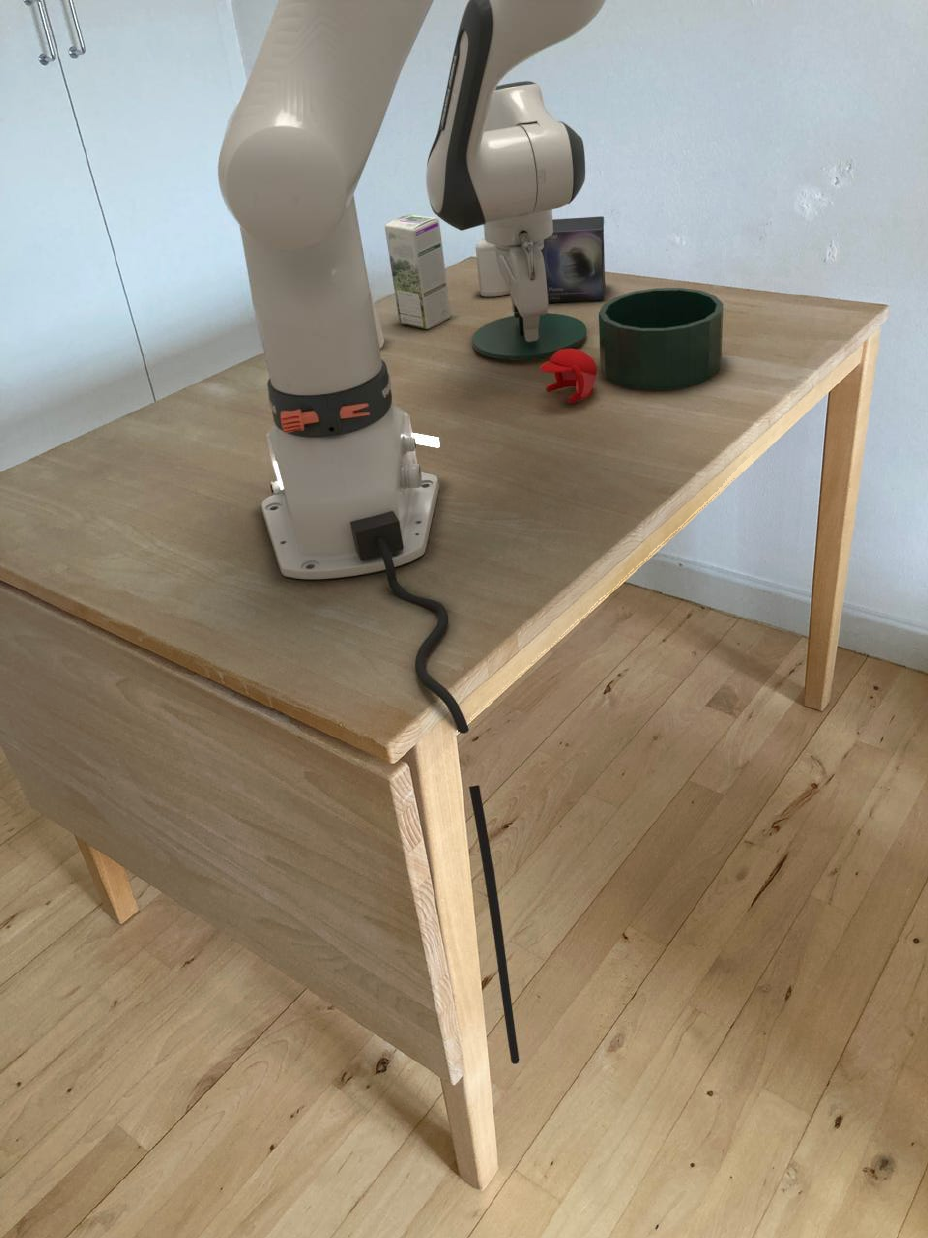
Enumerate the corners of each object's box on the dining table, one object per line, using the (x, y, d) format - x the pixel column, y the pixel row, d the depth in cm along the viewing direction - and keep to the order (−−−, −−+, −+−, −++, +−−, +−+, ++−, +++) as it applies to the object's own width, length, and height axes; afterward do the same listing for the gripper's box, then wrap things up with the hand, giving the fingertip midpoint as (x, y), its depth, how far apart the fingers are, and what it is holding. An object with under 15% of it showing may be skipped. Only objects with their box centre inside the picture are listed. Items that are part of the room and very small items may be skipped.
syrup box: (452, 317, 152) (440, 215, 144) (426, 330, 149) (412, 227, 141) (424, 311, 156) (411, 211, 147) (397, 325, 152) (382, 223, 144)
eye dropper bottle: (508, 298, 157) (501, 216, 150) (475, 296, 159) (467, 215, 152) (520, 289, 160) (514, 208, 153) (488, 287, 162) (480, 207, 155)
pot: (736, 380, 124) (739, 319, 119) (616, 397, 123) (615, 337, 119) (700, 338, 136) (702, 281, 131) (590, 354, 135) (588, 297, 131)
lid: (597, 354, 135) (596, 318, 132) (479, 371, 135) (475, 336, 132) (574, 314, 148) (573, 282, 145) (467, 330, 147) (463, 297, 145)
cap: (564, 380, 129) (561, 334, 126) (607, 387, 126) (605, 339, 123) (531, 406, 124) (528, 358, 120) (575, 413, 121) (573, 364, 117)
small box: (532, 305, 153) (527, 232, 147) (536, 290, 158) (532, 219, 152) (604, 301, 151) (602, 227, 145) (606, 286, 156) (604, 214, 150)
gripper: (557, 240, 124) (563, 351, 132) (529, 200, 141) (536, 300, 149) (505, 247, 124) (514, 358, 132) (483, 206, 140) (492, 306, 148)
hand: (525, 327), depth 140 cm, fingers open, 8 cm apart
